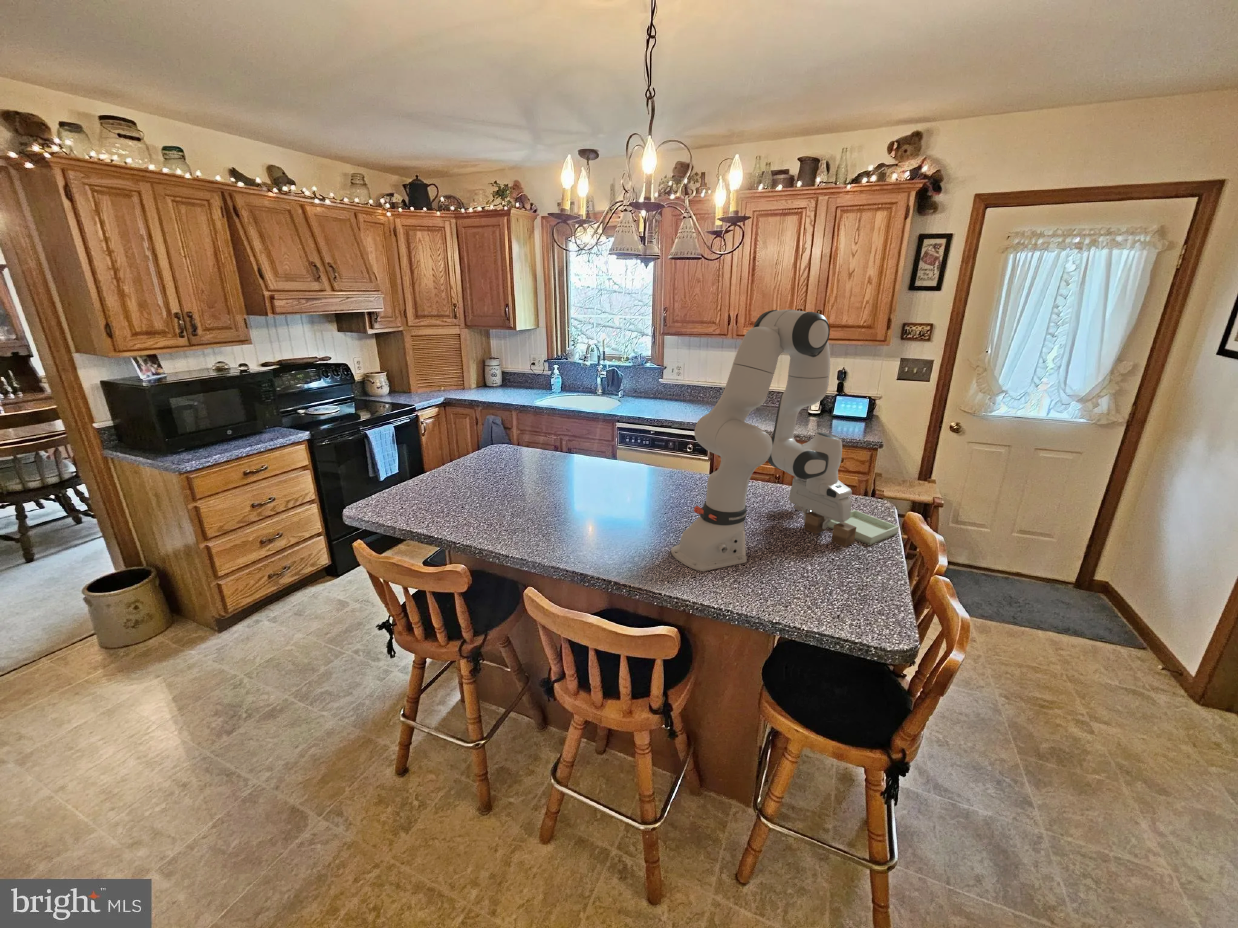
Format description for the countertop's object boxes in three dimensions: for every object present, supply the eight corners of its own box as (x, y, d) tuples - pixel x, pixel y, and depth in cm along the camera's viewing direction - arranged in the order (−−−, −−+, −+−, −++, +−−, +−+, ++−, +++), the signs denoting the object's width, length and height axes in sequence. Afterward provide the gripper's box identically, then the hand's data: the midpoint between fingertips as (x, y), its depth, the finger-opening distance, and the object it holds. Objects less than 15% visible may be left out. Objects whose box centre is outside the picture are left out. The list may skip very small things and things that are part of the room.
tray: (869, 545, 150) (871, 537, 149) (825, 526, 162) (827, 519, 161) (897, 533, 157) (899, 526, 157) (853, 516, 170) (854, 509, 169)
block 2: (844, 547, 148) (847, 530, 147) (831, 541, 152) (834, 524, 150) (853, 543, 151) (856, 527, 149) (840, 537, 154) (842, 521, 152)
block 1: (815, 534, 156) (818, 518, 154) (803, 528, 160) (806, 513, 158) (824, 530, 159) (827, 515, 157) (812, 525, 162) (815, 510, 160)
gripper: (787, 475, 161) (782, 515, 165) (844, 496, 145) (837, 539, 149) (800, 472, 164) (794, 511, 168) (857, 492, 148) (849, 534, 152)
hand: (815, 524), depth 159 cm, fingers open, 5 cm apart
